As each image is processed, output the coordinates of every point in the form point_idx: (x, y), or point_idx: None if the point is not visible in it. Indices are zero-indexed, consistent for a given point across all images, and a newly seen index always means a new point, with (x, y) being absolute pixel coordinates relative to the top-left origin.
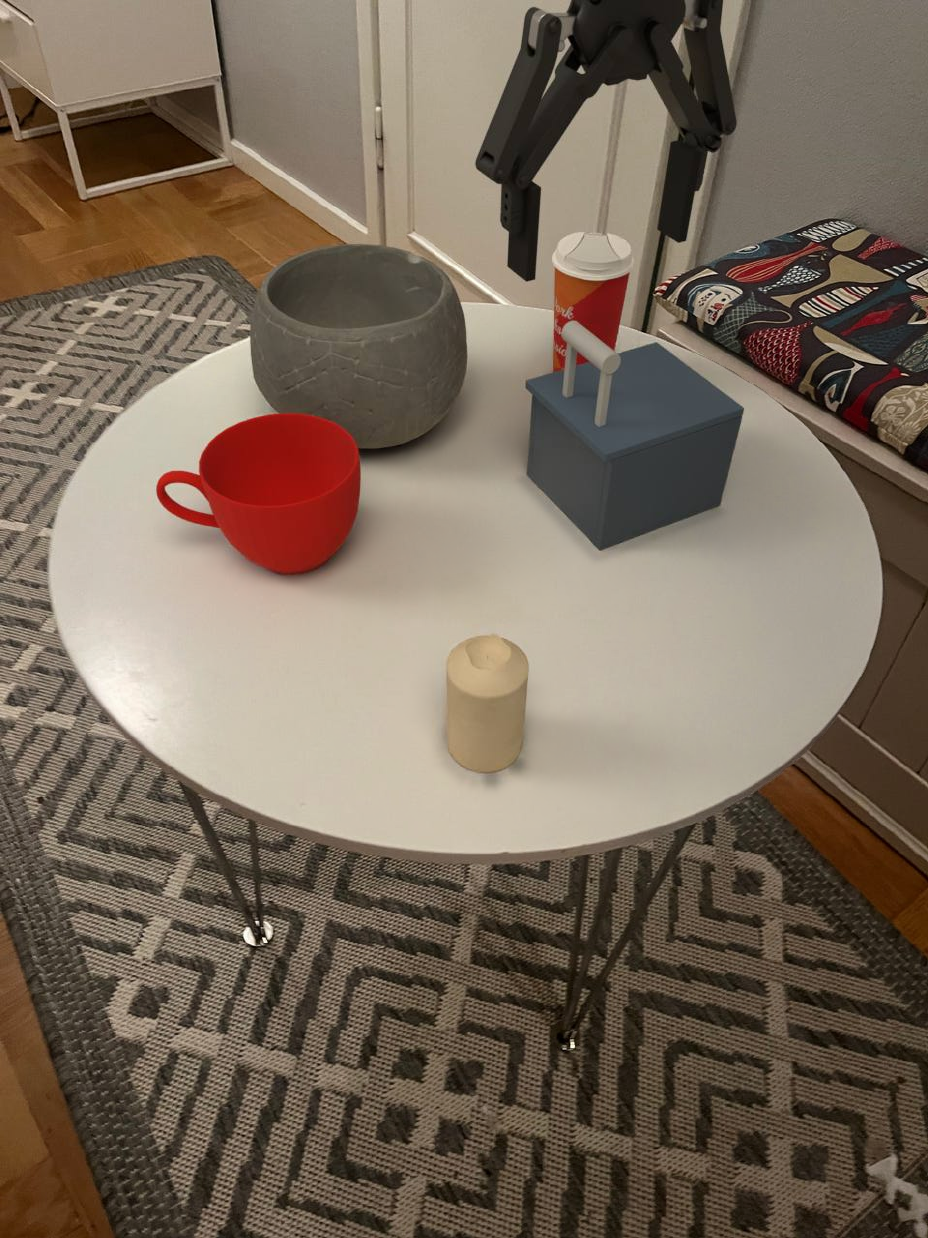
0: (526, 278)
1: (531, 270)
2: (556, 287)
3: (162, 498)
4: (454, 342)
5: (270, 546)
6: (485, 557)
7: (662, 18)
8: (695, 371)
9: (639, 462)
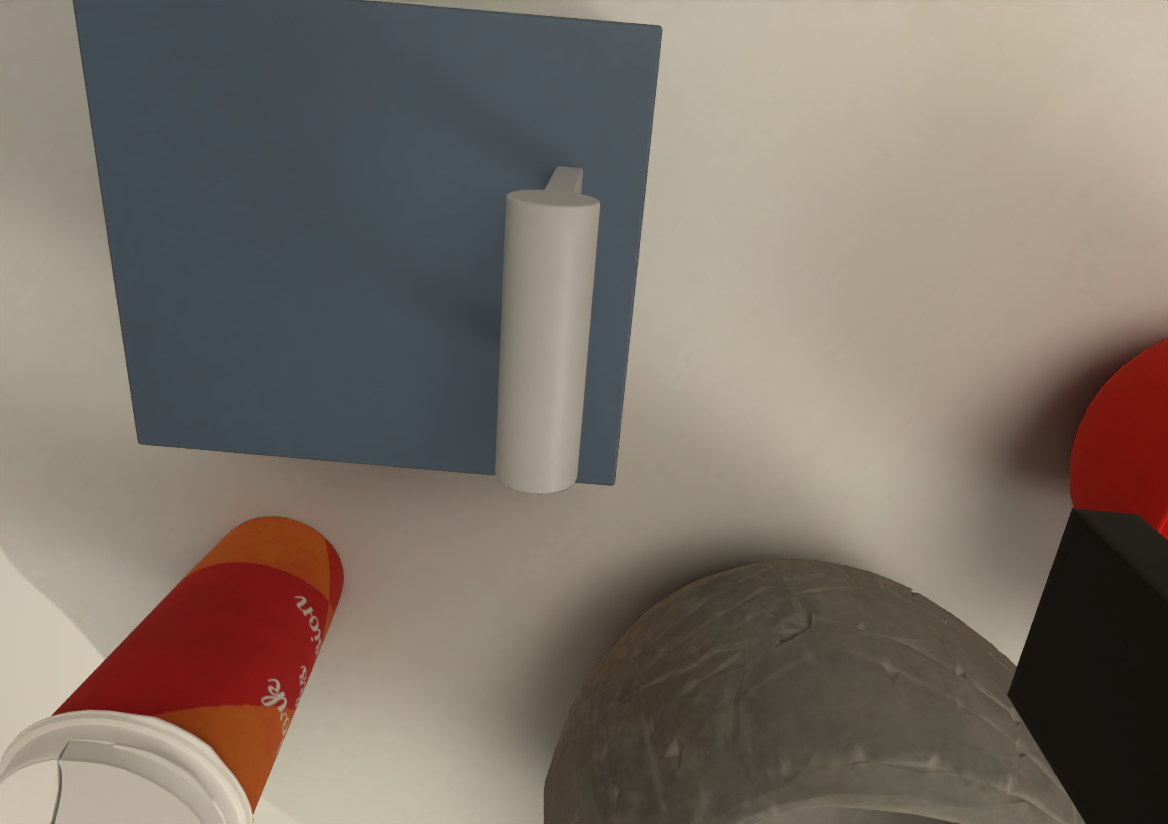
0: (1147, 526)
1: (1145, 545)
2: (266, 779)
3: None
4: (689, 707)
5: None
6: (864, 171)
7: None
8: (111, 250)
9: None
